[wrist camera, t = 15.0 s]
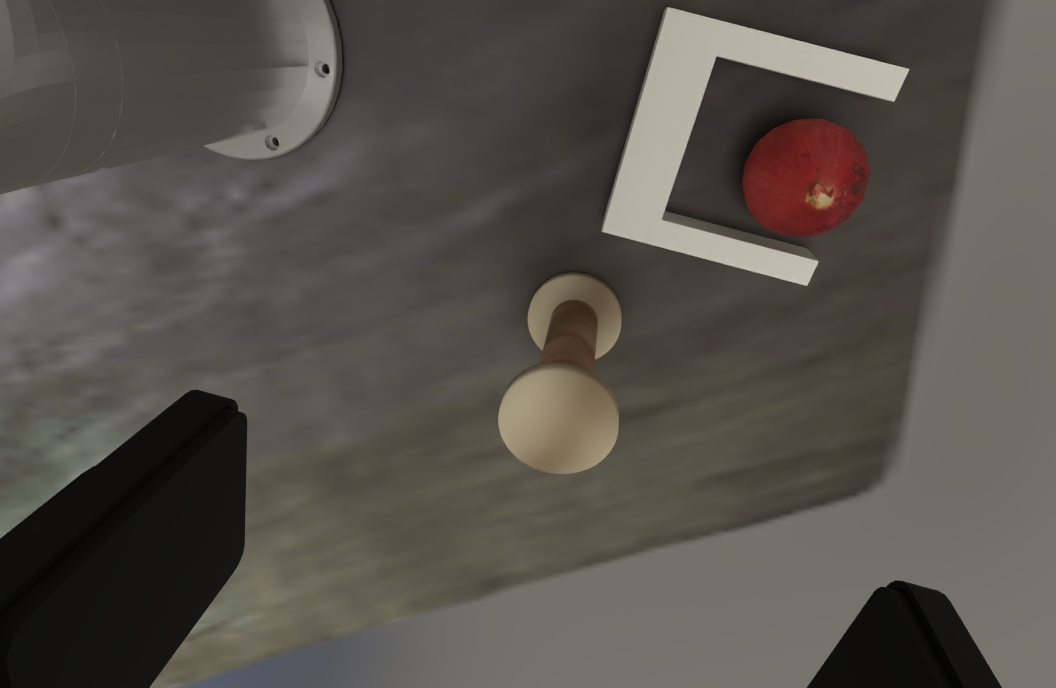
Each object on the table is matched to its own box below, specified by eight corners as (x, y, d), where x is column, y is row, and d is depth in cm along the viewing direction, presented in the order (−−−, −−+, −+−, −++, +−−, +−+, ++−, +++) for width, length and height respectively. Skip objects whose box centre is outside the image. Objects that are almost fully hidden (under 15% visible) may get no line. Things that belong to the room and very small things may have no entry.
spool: (520, 343, 42) (483, 458, 30) (541, 261, 39) (508, 352, 27) (606, 366, 41) (602, 490, 30) (633, 285, 39) (639, 388, 27)
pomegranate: (853, 110, 33) (916, 134, 26) (829, 217, 35) (879, 264, 28) (741, 109, 34) (772, 131, 26) (725, 213, 36) (749, 258, 29)
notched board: (602, 220, 37) (601, 231, 35) (664, 9, 32) (667, 7, 30) (795, 271, 37) (807, 285, 35) (889, 67, 32) (909, 69, 30)
